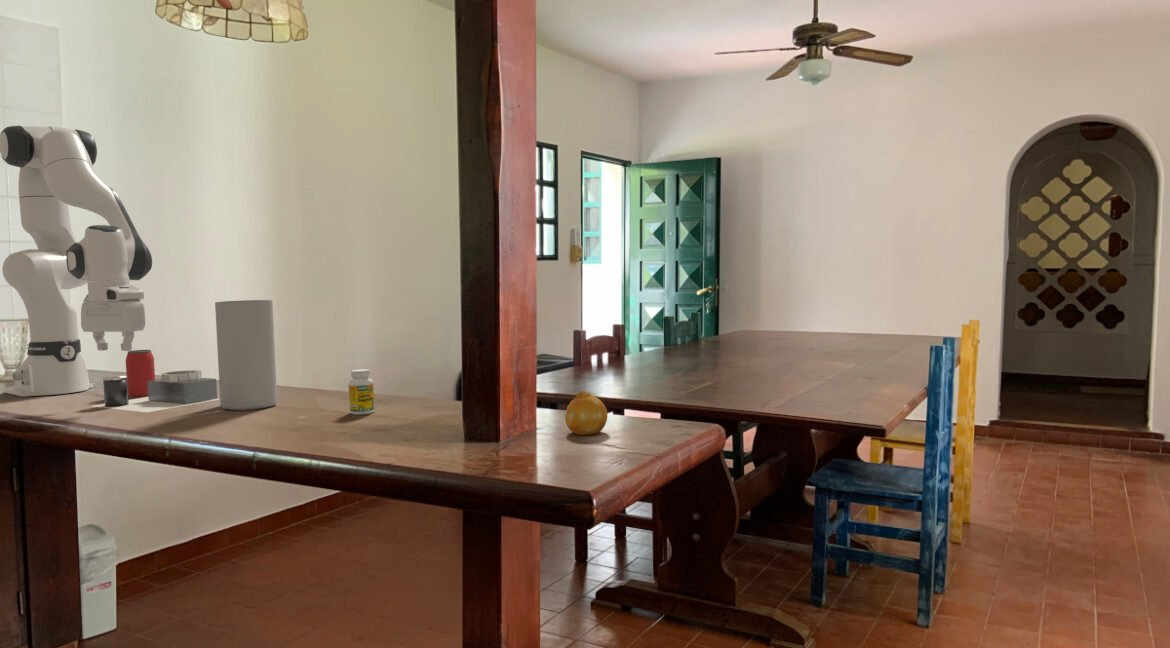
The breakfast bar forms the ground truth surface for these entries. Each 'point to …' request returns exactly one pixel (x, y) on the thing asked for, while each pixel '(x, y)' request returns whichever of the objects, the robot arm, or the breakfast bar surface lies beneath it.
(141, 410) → the mat
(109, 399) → the lens
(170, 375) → the camera body
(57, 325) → the robot arm
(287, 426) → the breakfast bar surface
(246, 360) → the cylinder vase
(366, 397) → the supplement bottle
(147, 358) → the beer can
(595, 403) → the fruit
